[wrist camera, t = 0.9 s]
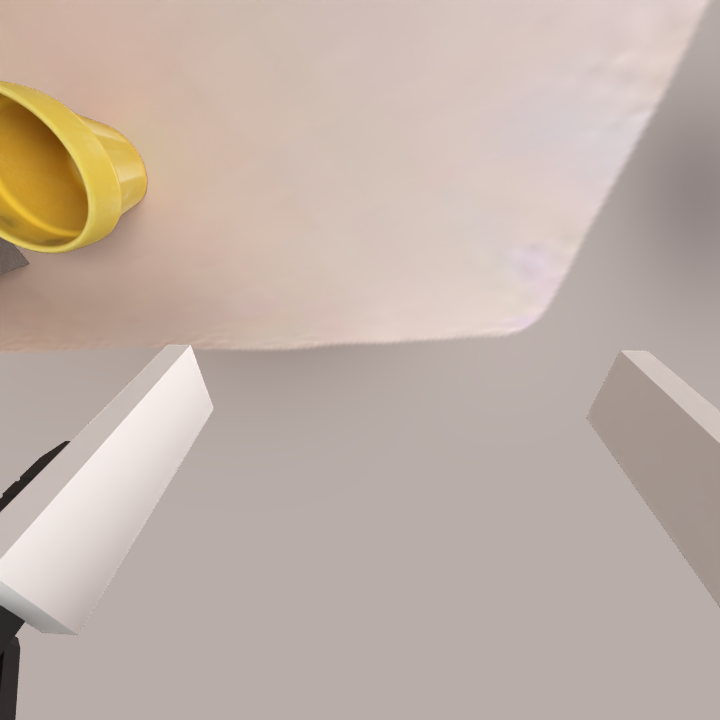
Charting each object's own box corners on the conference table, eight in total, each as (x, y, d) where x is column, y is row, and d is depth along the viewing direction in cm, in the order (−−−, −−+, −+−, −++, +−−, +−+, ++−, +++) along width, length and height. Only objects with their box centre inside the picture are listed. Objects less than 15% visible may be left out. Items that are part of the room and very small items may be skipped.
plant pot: (72, 57, 26) (-69, 22, 18) (189, 167, 30) (117, 178, 22) (32, 164, 30) (-95, 175, 22) (139, 248, 34) (63, 283, 26)
